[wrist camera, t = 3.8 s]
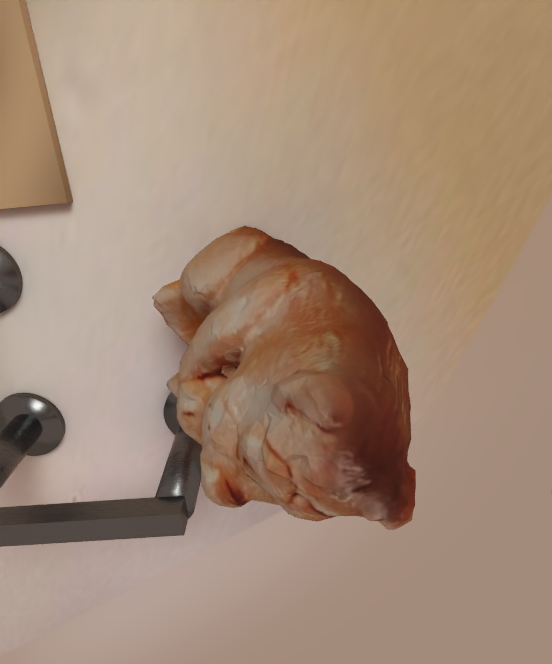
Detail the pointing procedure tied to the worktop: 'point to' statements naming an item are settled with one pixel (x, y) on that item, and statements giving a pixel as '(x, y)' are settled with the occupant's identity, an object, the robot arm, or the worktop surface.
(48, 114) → the pad
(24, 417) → the grey corner rail
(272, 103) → the worktop surface
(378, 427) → the brown lumpy piece
